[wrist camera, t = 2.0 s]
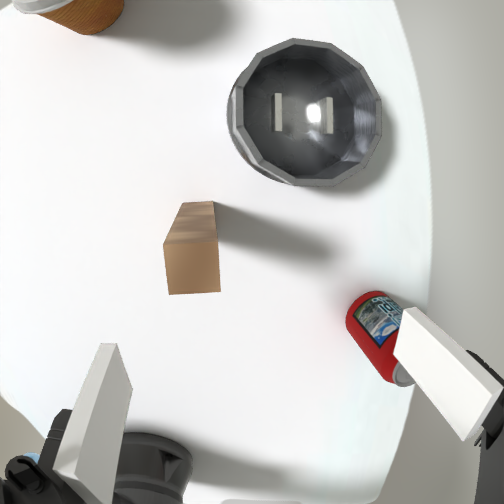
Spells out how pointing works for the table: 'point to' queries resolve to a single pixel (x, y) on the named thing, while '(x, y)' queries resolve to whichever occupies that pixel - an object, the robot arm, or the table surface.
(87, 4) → the disposable coffee cup
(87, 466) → the robot arm
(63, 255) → the table surface
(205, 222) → the long wooden beam
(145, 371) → the table surface
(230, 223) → the table surface
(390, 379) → the beverage can
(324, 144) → the tin
